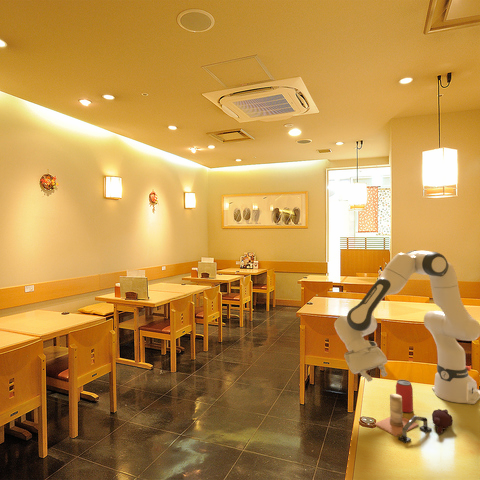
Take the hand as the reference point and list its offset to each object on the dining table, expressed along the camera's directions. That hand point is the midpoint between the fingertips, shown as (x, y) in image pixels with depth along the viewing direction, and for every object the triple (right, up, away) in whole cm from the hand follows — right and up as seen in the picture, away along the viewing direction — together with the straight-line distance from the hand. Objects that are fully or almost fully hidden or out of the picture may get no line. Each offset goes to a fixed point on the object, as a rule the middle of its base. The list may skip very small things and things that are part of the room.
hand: (378, 378), depth 143 cm
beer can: (+14, -16, +5) cm, 22 cm away
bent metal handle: (+8, -16, -14) cm, 23 cm away
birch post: (+4, -15, -7) cm, 17 cm away
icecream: (+22, -16, -9) cm, 28 cm away
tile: (+4, -16, -7) cm, 18 cm away
